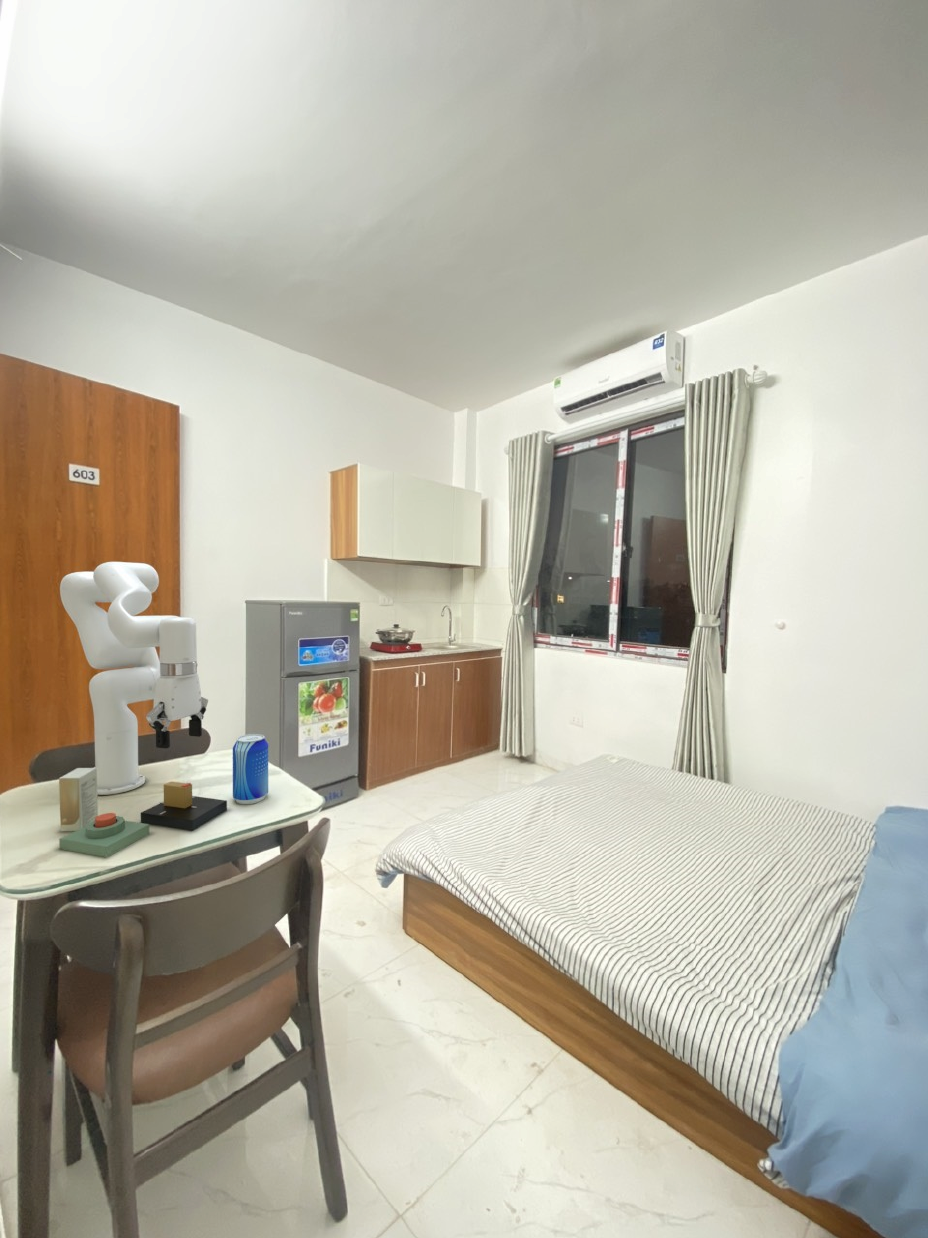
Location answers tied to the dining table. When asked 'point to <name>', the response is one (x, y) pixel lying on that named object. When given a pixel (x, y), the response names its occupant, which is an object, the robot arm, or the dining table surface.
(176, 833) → the dining table surface
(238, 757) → the beer can
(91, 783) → the cosmetic box
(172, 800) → the tap handle
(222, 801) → the base
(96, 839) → the button block
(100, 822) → the button
